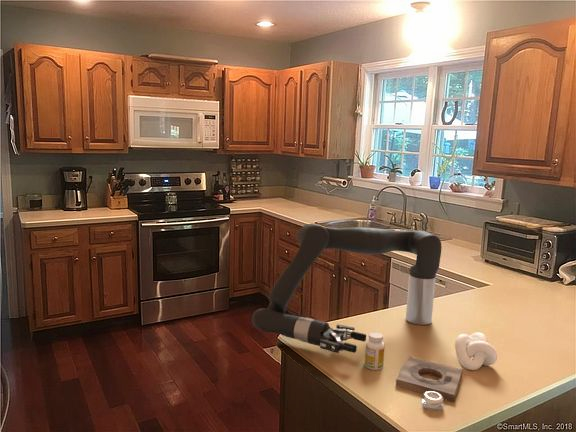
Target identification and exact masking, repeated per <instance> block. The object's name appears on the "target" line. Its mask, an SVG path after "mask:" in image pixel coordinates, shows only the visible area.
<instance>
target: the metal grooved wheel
mask: <svg viewBox="0 0 576 432" xmlns="http://www.w3.org/2000/svg"><path fill="white" fill-rule="evenodd" d="M444 401H445V399H444V398H443V396H442V395H441V394H439V393H438V392H435V391H427V392H425V393H424V394H423V393H422V401H421V405H422V407H423V409H424V410H427V411H429V412H435V413H437V412H441V411H443V408H444Z"/></svg>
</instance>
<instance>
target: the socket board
mask: <svg viewBox="0 0 576 432" xmlns="http://www.w3.org/2000/svg"><path fill="white" fill-rule="evenodd" d="M423 375H424V376H433V377H435V378H437V380H435V379H432V380H431V379H429V378H428V379H427V378H425V377H423ZM462 377H463V369H462V368H458V367H454V366H450V365H445V364H441V363H438V362H434V361H430V360H429V361H428V360H426V359H422V358H418V357H413V356H410V355H409V356H408V358H407V360H406V362H405V363H404V365H403V366H402V368H401V370H400V372H399V373H398V375H397V377H396V379H395V386H396V387H399V388H403V389H405V390H409V391H414V392H416V393H420V394H422V395H423V394H424V393H425V392H427V391H435V392H438V393H439V394H441V395H442V396H443V398H444V401H449V402H452V403H455V399H456V396H457V394H458V393H457V392H458V389H459V386H460V383H461V379H462Z"/></svg>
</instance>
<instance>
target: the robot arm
mask: <svg viewBox="0 0 576 432" xmlns="http://www.w3.org/2000/svg"><path fill="white" fill-rule="evenodd" d="M296 240H297V242H298V245H300V246H299V248H298V251H297V252H296V254H295V256H294V257H293V260H292V261H291V262H290V263H289V265H287V267H286V268H285V269H284V270H283V271H282V272H281V274H280V275H279V277H278V278H277V280H276V282H275V283H274V285H273V286H272V288H271V290H270V292H269V295H268V297H267V298H268V300H269V304H268V307H267V308H263V307H262V308H258V309H257V310H255V311H254V312H253V314H252V317H251V321H252V325H253V326H254V327H255V328H256V329H257V330H260V331H262V332H266V333H273V334H278V335H281V336H282V337H285V338H289V339H294V340H297V341H299V342H302V343H304V344H305V343H306V344H309V345H314V346H317V347H320V349H322V350H324V351H328V352H332V353H336V354H338V353H340V352H342V351H346V352H349V353H352V354H353V353H354V354H355V353H357V348H358V346H357V345H356V344H353V343H350V342H346V341H348V340H356V341H361V342H362V343H363V342H365V343H366V342H367V335H366V333H363V332H357V331H355V329H356V327H353V326H348V325H342V324H336V327H335V328H334V327H330V323H328V322H327V321H323V320H318V319H314V318H311V317H303V316H297V315H293V314H287V313H286V310H287V307H288V304H289V303H290V301H291V299H292V298H293V296H294V294H295V292H296V290H297V288H298V287H299V285H300V283H301V282H302V280H303V279H304V277H305V276H306V274H307V272H308V271H309V269H310V268H311V267H312V265H313V263H314V262H315V261H316V260H317V258H318V257H319V256H320V255H321V254H322V253H323V252H324V250H330V249H331V250H339V251H340V250H341V251H343V252H349V253H354V254H363V255H383V254H387V253H390V252H402V253H403V252H404V253H411V254H414V255H416V260H415V264H413V265H411V266H410V268H409V273H408V287H407V288H408V289H407V298H406V299H407V300H406V309H405V310H406V311H405V312H406V313H405V320H406V321H407V322H409V323H411V324H414V325H419V326H420V325H421V326H424V325H425V326H426V325H431V323H432V321H433V320H432V319H433V311H434V299H435V290H436V288H435V287H436V280H437V279H436V277H437V272H438V271H439V269H440V263H441V257H442V256H441V255H442V249H443V248H442V241H441V239H440V238H439V236H437V235H435V234H433V233H431V232H428V231H425V230H420V229H419V230H403V231H401V230H392V229H388V228H387V229H385V228H378V227H361V226H360V227H357V226H356V227H355V226H354V227H340V228H339V227H327V226H323V225H321V224H317V223H316V224H315V223H307V224H305V225H303V226H302V227H301V228H300V229H299V230H298V231H297V234H296Z"/></svg>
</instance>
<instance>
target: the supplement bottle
mask: <svg viewBox="0 0 576 432" xmlns="http://www.w3.org/2000/svg"><path fill="white" fill-rule="evenodd" d="M383 337H384V336H383V334H382V333H380V332H376V331H375V332H374V331H373V332H369V333H368V340H367V339H366V341H365V356H364V366H365V367H366V368H367V369H369V370H372V371H379V370H382V369H383V368H384V361H385V347H386V346H385V343H384V341H383V340H384V339H383Z"/></svg>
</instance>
